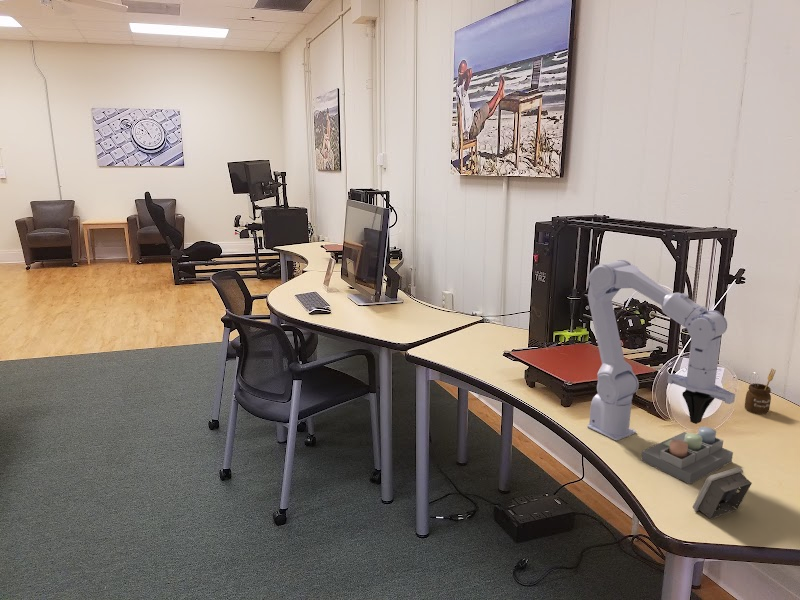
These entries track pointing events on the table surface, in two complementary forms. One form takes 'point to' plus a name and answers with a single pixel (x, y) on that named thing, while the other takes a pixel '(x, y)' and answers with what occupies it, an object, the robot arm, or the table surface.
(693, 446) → the sage button
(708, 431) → the slate button
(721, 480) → the electrical switch
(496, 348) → the table surface
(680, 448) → the terracotta button
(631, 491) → the table surface
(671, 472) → the console
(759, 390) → the utensil holder
